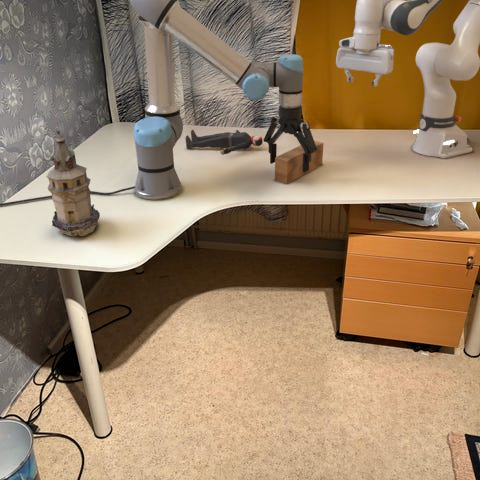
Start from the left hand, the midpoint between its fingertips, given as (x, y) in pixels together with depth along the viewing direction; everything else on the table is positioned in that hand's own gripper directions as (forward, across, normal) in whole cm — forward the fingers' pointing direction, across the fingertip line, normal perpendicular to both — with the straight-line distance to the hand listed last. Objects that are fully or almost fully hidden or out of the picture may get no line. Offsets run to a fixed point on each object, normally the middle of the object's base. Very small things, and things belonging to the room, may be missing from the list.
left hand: (289, 166), depth 184 cm
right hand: (-24, -10, -29) cm, 39 cm away
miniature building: (+4, +26, +68) cm, 73 cm away
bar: (+4, 0, -7) cm, 8 cm away
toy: (+4, +38, -10) cm, 39 cm away
